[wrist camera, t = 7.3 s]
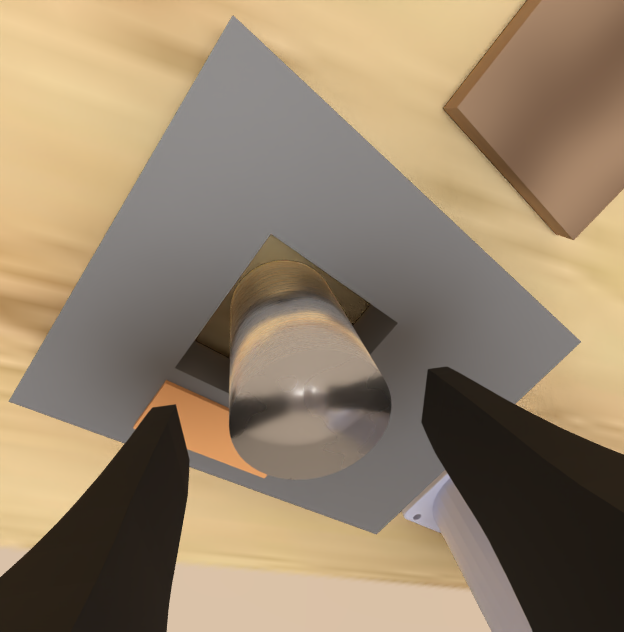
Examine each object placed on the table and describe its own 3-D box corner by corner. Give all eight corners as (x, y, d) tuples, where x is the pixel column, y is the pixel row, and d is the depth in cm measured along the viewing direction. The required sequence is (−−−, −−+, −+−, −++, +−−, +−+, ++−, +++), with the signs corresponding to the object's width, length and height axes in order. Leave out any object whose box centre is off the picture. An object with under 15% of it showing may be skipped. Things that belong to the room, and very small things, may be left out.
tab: (711, 71, 15) (740, 67, 14) (556, 234, 17) (573, 240, 16) (620, -121, 12) (651, -140, 11) (443, 108, 14) (457, 107, 13)
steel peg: (353, 301, 17) (422, 403, 11) (287, 369, 18) (316, 498, 12) (277, 238, 15) (308, 317, 9) (208, 317, 16) (193, 439, 10)
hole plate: (541, 316, 19) (585, 344, 17) (362, 494, 23) (377, 538, 20) (232, 35, 12) (232, 12, 9) (40, 361, 15) (5, 405, 13)
